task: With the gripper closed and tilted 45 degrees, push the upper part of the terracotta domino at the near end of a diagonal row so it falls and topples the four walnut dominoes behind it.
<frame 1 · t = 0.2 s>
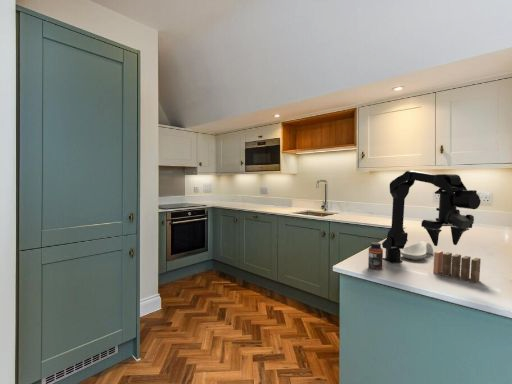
hand: (445, 245, 111), 14 cm above the worktop, tool pointing down, fingers open, 9 cm apart
supplement bottle: (375, 268, 127), on the worktop
walnut domino 2: (446, 274, 120), on the worktop
walnut domino 4: (464, 279, 114), on the worktop
walnut domino 5: (474, 281, 112), on the worktop
walnut domino 3: (455, 276, 117), on the worktop
terracotta domino: (437, 272, 122), on the worktop
spoon rest: (417, 257, 147), on the worktop
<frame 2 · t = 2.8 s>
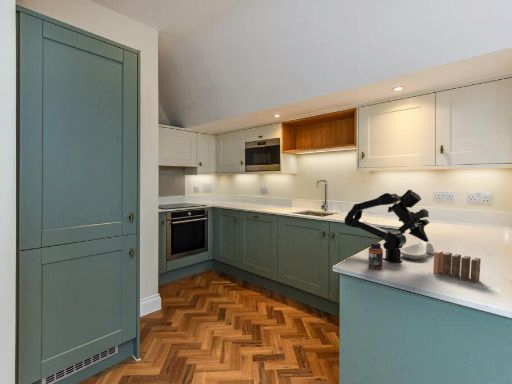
hand: (427, 241, 125), 13 cm above the worktop, tool tilted 45°, fingers closed
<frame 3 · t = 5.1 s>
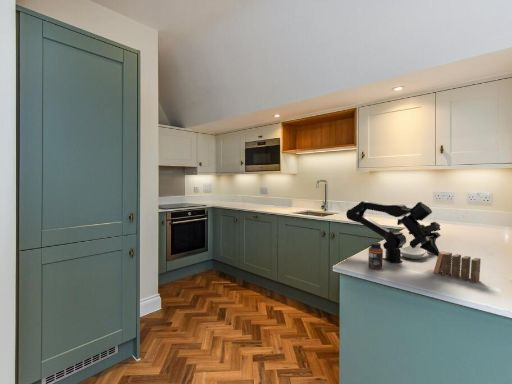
hand: (439, 255, 122), 7 cm above the worktop, tool tilted 45°, fingers closed, pressing on terracotta domino
terracotta domino: (437, 271, 122), on the worktop, tilted 11°, touching gripper
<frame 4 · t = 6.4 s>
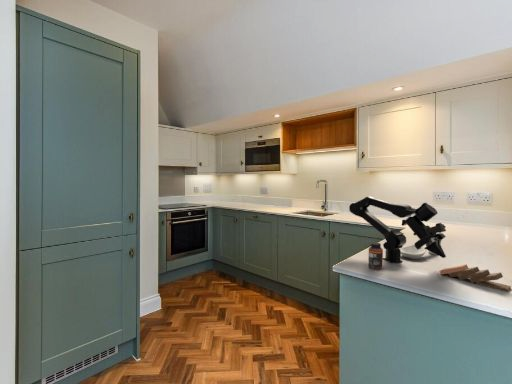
hand: (444, 257, 120), 7 cm above the worktop, tool tilted 45°, fingers closed
walnut domino 2: (452, 273, 118), point 1 cm above the worktop, tilted 63°, touching terracotta domino, walnut domino 3
walnut domino 4: (473, 278, 112), point 1 cm above the worktop, tilted 65°, touching walnut domino 3, walnut domino 5
walnut domino 5: (478, 282, 111), on the worktop, tilted 90°, touching walnut domino 4
walnut domino 3: (462, 276, 115), point 1 cm above the worktop, tilted 63°, touching walnut domino 2, walnut domino 4
terracotta domino: (442, 271, 121), point 1 cm above the worktop, tilted 63°, touching walnut domino 2
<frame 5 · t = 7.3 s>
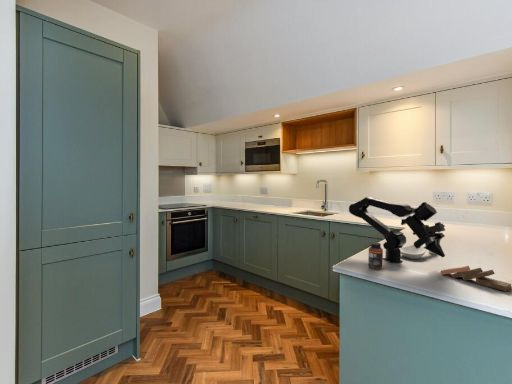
hand: (444, 256, 120), 7 cm above the worktop, tool tilted 45°, fingers closed
walnut domino 2: (455, 275, 117), point 1 cm above the worktop, tilted 61°, touching terracotta domino
walnut domino 4: (479, 279, 110), point 2 cm above the worktop, tilted 90°, touching walnut domino 5
walnut domino 3: (466, 277, 113), point 1 cm above the worktop, tilted 61°
terracotta domino: (444, 271, 120), point 1 cm above the worktop, tilted 65°, touching walnut domino 2
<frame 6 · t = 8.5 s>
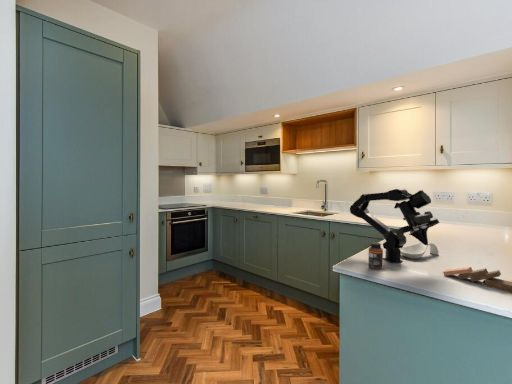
hand: (426, 245, 125), 11 cm above the worktop, tool tilted 30°, fingers closed
walnut domino 2: (460, 276, 115), point 1 cm above the worktop, tilted 63°, touching terracotta domino, walnut domino 3
walnut domino 4: (487, 279, 109), point 2 cm above the worktop, tilted 90°, touching walnut domino 3, walnut domino 5
walnut domino 3: (472, 278, 112), point 1 cm above the worktop, tilted 61°, touching walnut domino 2, walnut domino 4
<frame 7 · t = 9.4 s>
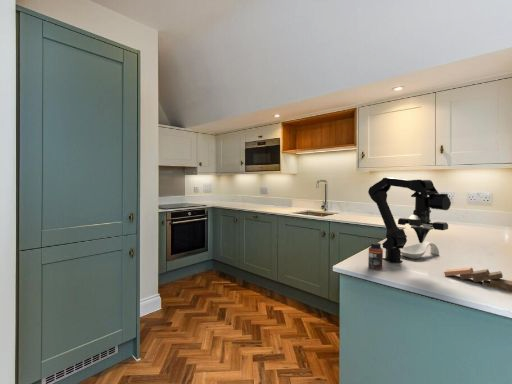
hand: (421, 242, 125), 12 cm above the worktop, tool pointing down, fingers closed
walnut domino 2: (461, 276, 115), point 1 cm above the worktop, tilted 65°, touching terracotta domino, walnut domino 3
walnut domino 4: (491, 280, 108), point 2 cm above the worktop, tilted 90°, touching walnut domino 3, walnut domino 5
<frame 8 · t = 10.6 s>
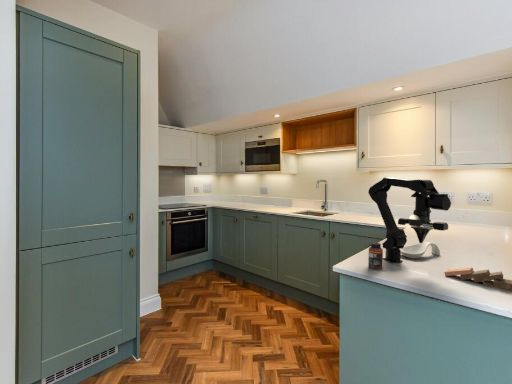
hand: (421, 242, 125), 12 cm above the worktop, tool pointing down, fingers closed
walnut domino 2: (462, 276, 115), point 1 cm above the worktop, tilted 65°, touching walnut domino 3
walnut domino 4: (494, 280, 108), point 2 cm above the worktop, tilted 90°, touching walnut domino 3
walnut domino 5: (483, 282, 110), on the worktop, tilted 90°
walnut domino 3: (474, 279, 112), point 1 cm above the worktop, tilted 66°, touching walnut domino 2, walnut domino 4
terracotta domino: (446, 272, 120), point 1 cm above the worktop, tilted 70°
at the end: walnut domino 5 tilted 90°; walnut domino 3 tilted 65°; terracotta domino tilted 70° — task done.
